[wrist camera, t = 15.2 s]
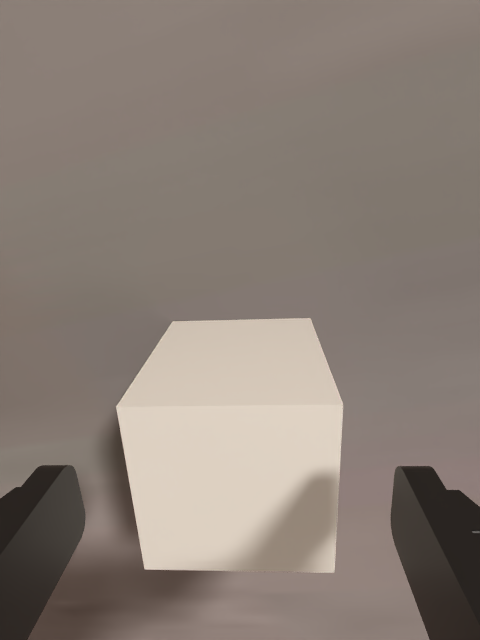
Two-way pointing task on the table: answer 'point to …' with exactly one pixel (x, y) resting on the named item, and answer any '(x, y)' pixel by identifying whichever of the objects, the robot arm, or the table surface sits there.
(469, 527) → the robot arm
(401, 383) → the table surface
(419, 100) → the table surface
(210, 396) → the cream colored box
